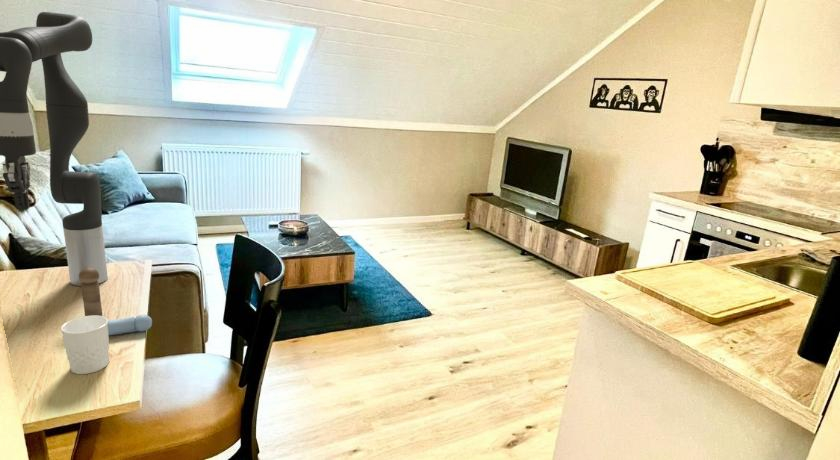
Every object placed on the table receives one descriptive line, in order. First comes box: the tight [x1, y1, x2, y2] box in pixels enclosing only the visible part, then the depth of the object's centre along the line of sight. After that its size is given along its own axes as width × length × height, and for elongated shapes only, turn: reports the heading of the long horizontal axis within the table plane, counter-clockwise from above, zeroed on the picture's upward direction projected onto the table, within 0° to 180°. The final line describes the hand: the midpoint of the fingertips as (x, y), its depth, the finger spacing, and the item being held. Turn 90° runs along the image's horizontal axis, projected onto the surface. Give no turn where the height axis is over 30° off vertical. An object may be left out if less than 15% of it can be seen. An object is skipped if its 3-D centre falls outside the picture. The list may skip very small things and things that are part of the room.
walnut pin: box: [79, 268, 103, 316], centre depth 114 cm, size 4×4×14 cm
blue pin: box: [108, 314, 153, 337], centre depth 109 cm, size 4×4×14 cm
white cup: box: [60, 315, 110, 375], centre depth 95 cm, size 8×8×10 cm
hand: (23, 208), depth 104 cm, fingers closed
